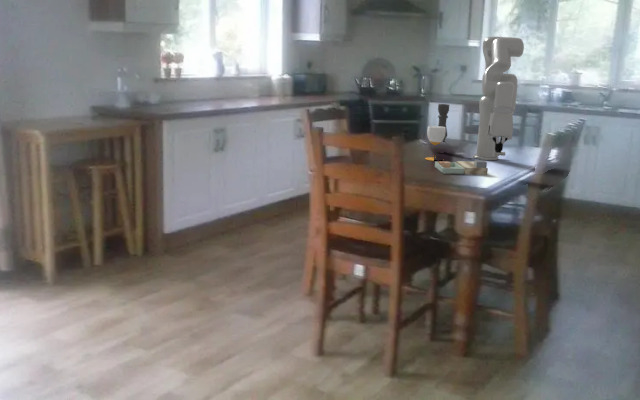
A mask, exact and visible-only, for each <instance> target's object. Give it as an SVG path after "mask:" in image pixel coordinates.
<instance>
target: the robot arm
mask: <svg viewBox="0 0 640 400" xmlns="http://www.w3.org/2000/svg"><path fill="white" fill-rule="evenodd" d="M524 45H525V44H524V41H523V39H522V38H519V37H509V36H488V37H485V38H484V39H483V41H482V54H483V57H484V63H485V67H484V72H483V75H482V78H481V91H482V92H481V93H482V95H483V96H482V97H480V99H479V103H478V106H479V111H478V112H479V119H478V120H479V123H478V134H477V143H476V153H475V154H473V155H472V159H473V158H474V159H475V160H484V161H497V160H499V156H503V157H504V156H506V151H503V149H504V148H503V147H504V144H505V142H507V141H509V140H510V141H511V140H513V132H514V117H513V115H514V114H515V111H516V104H517V94H518V78H517V76H516V75H515V74H512V73H505V72H507V71H509V70H510V68H511V67H512V59H511V57H512V58H513V57H514V58H521V56H523V54H524V50H525V46H524Z"/></svg>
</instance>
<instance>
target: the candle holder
mask: <svg viewBox="0 0 640 400" xmlns="http://www.w3.org/2000/svg"><path fill="white" fill-rule="evenodd" d="M449 111H450V104H446V103H438V105H437V112H438V114H439V115H438V116H437V118H438V125H437V126H441V127H445V128H446V133H445V137H444V139H443V142H445V143H446V141H445V140H446V139H447V137H448V129H447V119H448V118H449V116H448V113H449Z"/></svg>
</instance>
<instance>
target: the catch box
mask: <svg viewBox="0 0 640 400" xmlns="http://www.w3.org/2000/svg"><path fill="white" fill-rule="evenodd" d="M438 162H439V161H434V168H435V169H436V170H438V171H439V172H440V173H441V174H443V175H465V174H464V168H462V167H461V166H460V165H458V164H457V163H456V162H457V161H456V162H455V161H449V162H450V163H451V165H450V168H443V167H442V166H441V165H440V164H439V163H438Z"/></svg>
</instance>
